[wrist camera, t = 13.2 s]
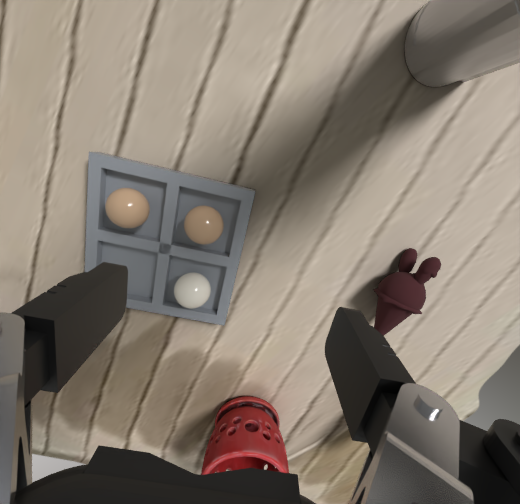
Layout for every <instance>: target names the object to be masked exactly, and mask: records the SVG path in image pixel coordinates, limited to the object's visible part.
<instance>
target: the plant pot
mask: <svg viewBox="0 0 520 504" xmlns="http://www.w3.org/2000/svg"><path fill="white" fill-rule="evenodd" d="M266 464H267V465H268V468H267V470H269V471H276V472H283V473H289V470H288V461H287V455H286V450H285V445H284V442H283V438H282V435H281V433H280V431H279V417H278V414H277V412H276V410H275V409H274V408H273V407H272V406H271V405H270V404H269V403H268V402H266V401H265V400H262V399H260V398H256V397H250V396H245V397H239V398H235V399H233V400H231V401H229V402H227V403H226V404H225V405H223V406H222V407H221V409H220V410H219V411H218V413H217V416H216V419H215V429H214V430H213V433H212V435H211V437H210V440H209V443H208V446H207V449H206V453H205V457H204V462H203V467H202V473H201V475H205V474H211V473H215V472H217V473H218V472H225V471H226V470H227V469H229V470H230V471H232V470H238V469H245V468H256V469H263V470H264V466H265V465H266ZM275 467H276V468H275Z"/></svg>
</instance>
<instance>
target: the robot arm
mask: <svg viewBox="0 0 520 504" xmlns="http://www.w3.org/2000/svg"><path fill="white" fill-rule="evenodd" d="M405 59H406V63H407V66H408V69H409V71H410V72H411V74H412V76H413V77H414V78H415V79H416V80H417V81H419V82H420V83H422V84H424V85H427V86H430V87H440V86H445V85H448V84H451V83H454V82H456V81H462V82H466V81H469V80H472V79H474V78H477V77H480V76H483V75H486V74H489V73H491V72H494V71H497V70H500V69H503V68H506V67H508V66H511V65H514V64H517V63H520V0H430V1H429V2H428V3H426V4H425V5H424V6H423V7H422V9H421V10H420V11H419V12H418V13H417V15H416V16H415V18H414V19H413V21H412V23H411V25H410V27H409V30H408V33H407V36H406V40H405ZM127 285H128V268H127V267H126V266H124V265H119V264H114V263H108V262H102V263H101V264H99V265H98V266H96V267H95V268H93V269H92V270H90V271H89V272H83V273H80V274H77V275H73V276H70V277H68V278H66V279H65V280H63V281H62V282H60V283H58V284H57V286H54V287H52V288H51V289H49V290H47V292H44V293H43V294H41V295H39V296H38V297H36V298H35V299H33V300H31V301H30V302H28V303H27V304H25V305H23V306H22V307H20V308H19V309H17V310H15V311H14V312H12V313H0V504H316V503H314V502H312V501H311V500H309V499H308V498H306V497H304V496H302V495H300V492H299V484H298V475H297V474H290V473H283V472H276V471H269V470H263V469H256V468H245V469H238V470H232V471H225V472H218V473H211V474H205V475H197V474H193V473H191V472H189V471H187V470H185V469H182V468H180V467H178V466H176V465H174V464H172V463H170V462H168V461H165V460H163V459H161V458H159V457H157V456H155V455H153V454H151V453H146V452H140V451H133V450H126V449H119V448H112V447H105V446H98V448H97V449H96V451H95V453H94V455H93V457H92V458H91V460H90V462H89V464H88V465H81V466H77V467H73V468H69V469H65V470H62V471H59V472H56V473H54V474H51V475H48V476H46V477H44V478H42V479H40V480H37V481H35V482H33V483H32V398H33V397H34V396H35V395H36V394H37V393H38V392H39V391H40V390H43V391H50V392H56V393H58V392H59V391H60V390H61V389H62V387H63V386H64V385H65V384H66V383H67V382H68V380H69V379H70V378H71V377H72V376H73V375H74V374H75V372H76V371H77V370H78V369H79V368H80V367H81V365H82V364H83V363H84V362H85V361H86V360H87V358H88V357H89V356H90V355H91V354H92V353H93V351H94V350H95V349H96V348H97V347H98V346H99V344H100V343H101V342H102V341H103V340H104V339H105V337H106V336H107V335H108V334H109V333H110V332H111V330H112V329H113V328H114V327H115V326H116V325H117V323H118V322H119V321H120V320H121V318H122V317H123V314H124V312H125V309H126V304H127ZM325 357H326V360H327V363H328V366H329V369H330V372H331V376H332V379H333V382H334V385H335V388H336V391H337V394H338V397H339V401H340V404H341V407H342V410H343V413H344V416H345V419H346V422H347V425H348V429H349V432H350V435H351V438H352V440H353V441H360V442H366V443H368V445H369V447H370V451H369V453H368V455H367V457H366V459H365V462H364V464H363V467H362V469H361V472H360V475H359V477H358V480H357V482H356V485H355V488H354V490H353V493H352V495H351V498H350V501H349V503H348V504H520V425H519V424H517V423H514V422H512V421H509V420H504V419H498V420H495V421H494V423H493V424H492V425H491V427H490V428H489V430H488V431H485V430H483V429H480V428H478V427H476V426H473V425H471V424H468V423H466V422H463V421H461V420H459V418H458V415H457V414H456V412H455V410H454V409H453V408H452V407H451V405H450V404H449V403H448V402H447V401H446V400H444V399H443V398H442V397H441V396H439V395H438V394H437V393H435V392H433V391H432V390H430V389H428V388H426V387H424V386H421V385H418V384H416V383H415V382H414V380H413V379H412V377H411V376H410V374H409V373H408V371H407V370H406V368H405V367H404V365H403V364H402V363H401V361H400V360H399V358H398V357H397V356H396V354H395V352H394V351H393V349H392V348H390V345H389V343H388V342H387V340H386V339H385V338H384V336H383V335H382V334H381V333H380V332H378V331H377V330H376V329H375V328H374V327H373V326H370V325H369V323H368V322H367V320H366V319H365V317H364V316H363V314H362V313H361V311H359V310H354V309H348V308H343V307H340V308H338V310H337V311H336V314H335V317H334V319H333V322H332V325H331V328H330V331H329V334H328V337H327V339H326V343H325Z"/></svg>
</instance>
